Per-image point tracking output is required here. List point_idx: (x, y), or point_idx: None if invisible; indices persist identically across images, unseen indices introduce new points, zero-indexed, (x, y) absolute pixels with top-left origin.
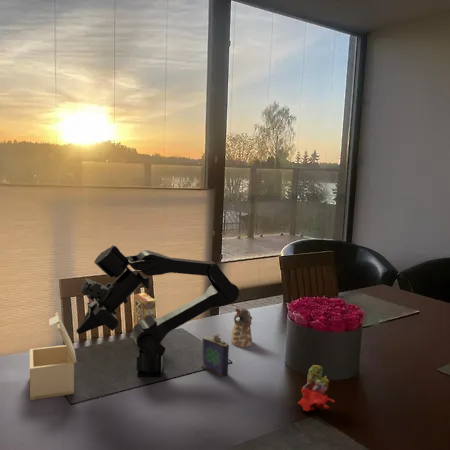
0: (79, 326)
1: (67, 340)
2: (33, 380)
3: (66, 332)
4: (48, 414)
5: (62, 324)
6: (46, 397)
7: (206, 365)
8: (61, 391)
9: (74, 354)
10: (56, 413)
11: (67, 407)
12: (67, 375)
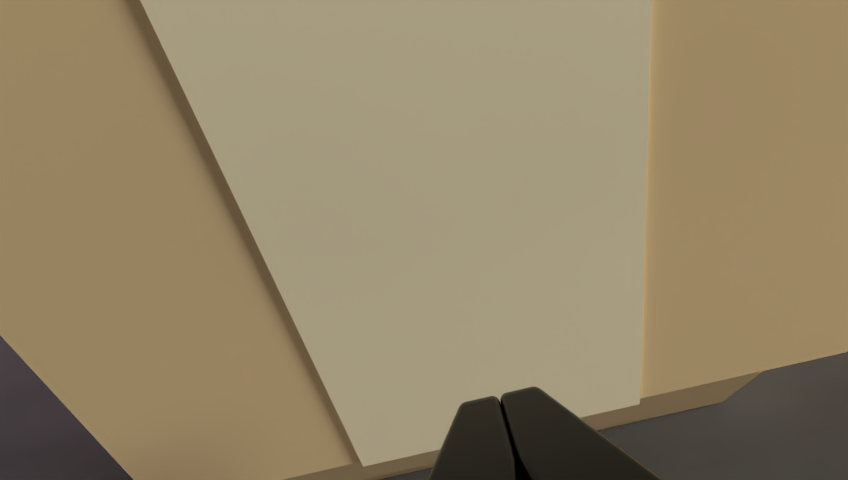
0: (518, 456)
1: (190, 280)
2: None
3: (767, 191)
4: (9, 346)
5: (635, 15)
6: None
7: None
8: None
9: (343, 447)
10: (5, 402)
11: (69, 476)
12: None
